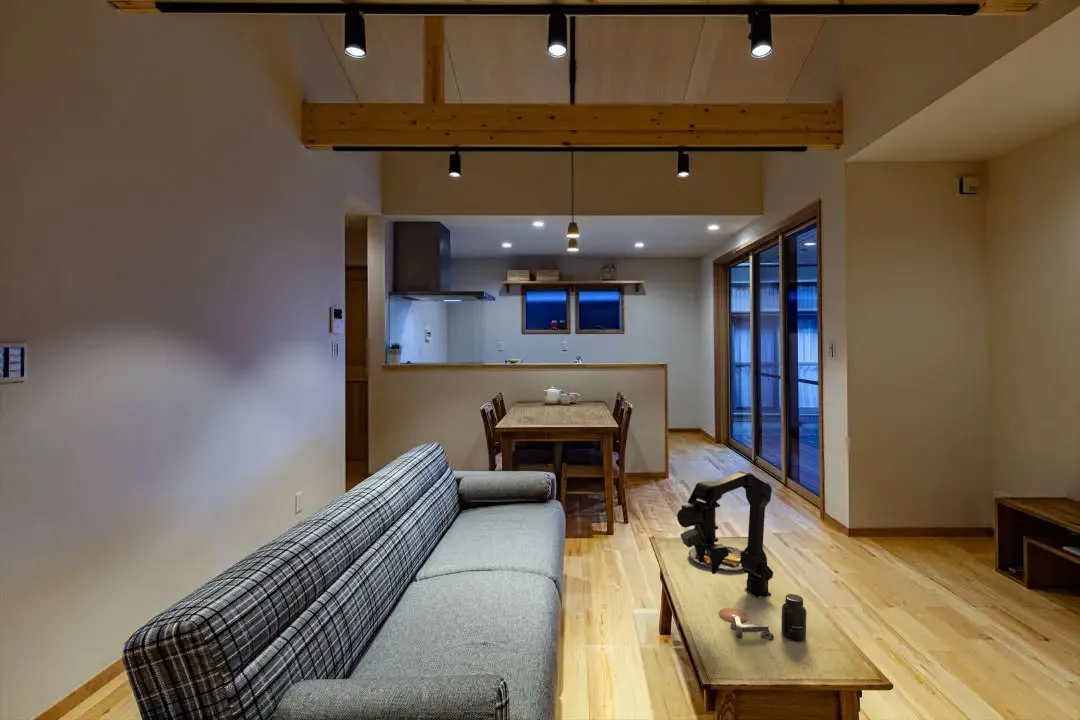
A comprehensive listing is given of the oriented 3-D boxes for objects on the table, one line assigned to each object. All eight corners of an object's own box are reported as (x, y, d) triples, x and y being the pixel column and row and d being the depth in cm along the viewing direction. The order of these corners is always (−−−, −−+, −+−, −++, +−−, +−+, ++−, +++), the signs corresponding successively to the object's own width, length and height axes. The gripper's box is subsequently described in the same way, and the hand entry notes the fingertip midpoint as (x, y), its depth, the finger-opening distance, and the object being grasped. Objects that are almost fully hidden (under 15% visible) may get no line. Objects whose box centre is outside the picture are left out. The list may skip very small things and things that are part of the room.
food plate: (680, 563, 224) (680, 554, 223) (699, 545, 243) (700, 537, 243) (744, 579, 209) (744, 570, 209) (759, 559, 228) (760, 551, 228)
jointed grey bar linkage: (753, 621, 177) (753, 610, 177) (776, 639, 167) (776, 627, 167) (723, 626, 174) (723, 615, 174) (744, 644, 164) (744, 632, 164)
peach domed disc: (737, 607, 186) (737, 606, 186) (754, 620, 178) (754, 619, 178) (713, 611, 184) (713, 610, 184) (729, 624, 175) (729, 623, 175)
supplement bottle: (795, 644, 163) (796, 604, 163) (776, 634, 170) (776, 595, 169) (811, 638, 167) (811, 599, 166) (791, 628, 173) (791, 590, 172)
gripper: (672, 514, 192) (672, 559, 193) (696, 533, 174) (697, 582, 174) (702, 512, 194) (702, 556, 195) (729, 530, 176) (729, 579, 176)
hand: (707, 568), depth 185 cm, fingers open, 9 cm apart
